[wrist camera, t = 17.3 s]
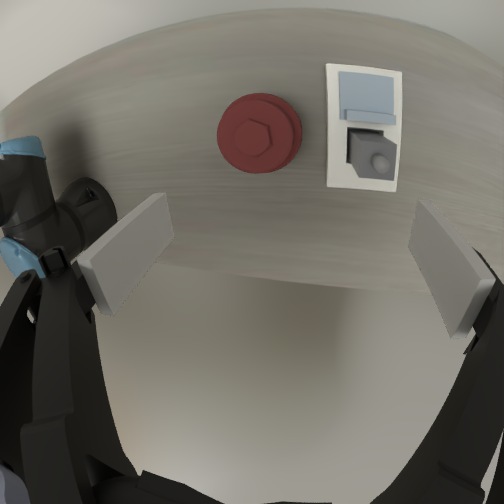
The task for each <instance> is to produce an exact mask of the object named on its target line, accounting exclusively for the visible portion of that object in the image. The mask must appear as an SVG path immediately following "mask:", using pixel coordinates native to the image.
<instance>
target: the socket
mask: <svg viewBox="0 0 504 504" xmlns="http://www.w3.org/2000/svg"><path fill="white" fill-rule="evenodd" d="M339 71H344V72H355V73H365V74H373V75H380V76H387V77H393V78H394V115H396V125H389V124H382V123H373V122H364V121H353V120H340V99H339ZM325 80H326V115H327V153H326V183H327V187H339V188H353V189H366V190H377V191H388V192H396V186H397V178H398V168H399V158H400V145H401V127H402V72H397V71H392V70H386V69H379V68H371V67H363V66H354V65H342V64H326V65H325ZM347 128H351V129H363V130H372V131H375V132H377V133H379V134H380V135H382V136H384V137H386V138H387V139H389V140H390V141H392V142H394V143H395V144H397V154H396V166H395V176H394V181H390V180H380V179H369V178H359V177H358V175H357V174H356V172H355V170H354V168H353V166H352V164H351V162H350V160H349V159H348V157H347V155H346V154H347Z"/></svg>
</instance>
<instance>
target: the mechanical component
mask: <svg viewBox="0 0 504 504" xmlns="http://www.w3.org/2000/svg"><path fill="white" fill-rule="evenodd" d="M301 140H302V126H301V122H300V119H299V117H298V115H297V113H296V112H295V110H294V109H293V108H292V107H291V106H290V105H289V104H288V103H287V102H286V101H284V100H283V99H281V98H279V97H277V96H274V95H270V94H264V93H254V94H249V95H246V96H243V97H241V98H239V99H237V100H236V101H234V102H233V103H232V104H231V105H230V106H229V107H228V108H227V109H226V111H225V112H224V114H223V116H222V118H221V120H220V123H219V126H218V130H217V142H218V146H219V149H220V151H221V153H222V155H223V156H224V158H225V159H226V160H227V161H228V162H229V163H230V164H231V165H232V166H234V167H235V168H237V169H239V170H241V171H244V172H248V173H268V172H273V171H276V170H278V169H281V168H282V167H284V166H286V165H287V164H288V163H289V162H290V161H291V160H292V159H293V158H294V157H295V155H296V154H297V152H298V150H299V147H300V144H301Z"/></svg>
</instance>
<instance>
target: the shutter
mask: <svg viewBox="0 0 504 504" xmlns="http://www.w3.org/2000/svg"><path fill="white" fill-rule="evenodd" d="M339 99H340V120H353V121H364V122H373V123H382V124H389V125H396V115H394V78H393V77H387V76H380V75H373V74H365V73H355V72H344V71H339Z"/></svg>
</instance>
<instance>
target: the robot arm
mask: <svg viewBox="0 0 504 504" xmlns="http://www.w3.org/2000/svg"><path fill="white" fill-rule="evenodd" d="M45 160H46V157H45V156H44V152H43V148H42V143H41V140H40V139H39V138H38V137H36V136H26V137H20V138H16V139H12V140H8V141H5V142H2V143H1V144H0V227H2V230H3V233H4V237H3V238H2V239H1V241H0V253H1V256H2V258H3V260H4V262H5V264H6V265H7V267H8V268H9V270H10V271H11V272H12V273H13V275H14V276H15V277H16V278H17V279H16V280H15V282H14V283H13V285H12V287H11V288H10V290H9V292H8V294H7V296H6V297H5V299H4V301H3V303H2V304H1V306H0V504H224V503H221V502H219V501H216V500H215V499H213V498H211V497H209V496H207V495H204V494H202V493H200V492H198V491H196V490H195V489H193V488H191V487H189V486H187V485H185V484H183V483H180V482H176V481H173V480H170V479H167V478H164V477H161V476H158V475H155V474H153V473H150V472H147V471H144V470H143V471H142V474H141V476H138V475H137V472H136V470H135V468H134V467H133V465H132V464H131V462H130V461H129V459H128V458H127V457H126V455H125V453H124V452H123V449H122V447H121V443H120V440H119V437H118V434H117V430H116V427H115V423H114V420H113V416H112V412H111V408H110V404H109V400H108V396H107V391H106V386H105V382H104V377H103V371H102V366H101V360H100V354H99V348H98V340H97V332H96V324H95V315H94V313H93V311H92V309H91V308H92V307H93V306H94V304H95V303H96V305H97V307H98V309H99V311H100V313H101V314H105V315H110V316H115V315H116V313H117V312H118V311H119V309H120V308H121V306H122V305H123V304H124V302H125V301H126V299H127V298H128V297H129V295H130V294H131V292H132V291H133V290H134V289H135V287H136V286H137V285H138V283H139V282H140V281H141V279H142V278H143V277H144V275H145V274H146V273H147V272H148V270H149V269H150V268H151V266H152V265H153V264H154V263H155V261H156V260H157V259H158V257H159V256H160V255H161V254H162V252H163V251H164V250H165V249H166V247H167V246H168V245H169V244H170V242H171V241H172V240H173V239H174V238H175V236H174V232H173V227H172V222H171V217H170V212H169V207H168V202H167V197H166V193H154V194H152V195H151V196H150V197H148V198H147V199H146V200H144V201H143V202H142V203H141V204H139V205H138V206H137V207H136V208H134V209H133V210H132V211H131V212H129V213H128V214H127V215H126V216H124V217H123V218H122V219H121V220H120V221H118V222H117V218H116V211H115V207H114V205H113V202H112V200H111V198H110V196H109V195H108V193H107V192H106V190H105V189H104V188H103V187H102V186H101V185H100V184H99V183H97V182H96V181H94V180H92V179H88V178H82V179H79V180H77V181H75V182H73V183H71V184H70V185H69V186H68V187H67V188H66V189H65V191H64V192H63V193H62V194H61V196H60V197H59V198H58V200H57V201H56V202H55V200H54V196H53V193H52V189H51V184H50V180H49V176H48V171H47V166H46V161H45ZM408 247H409V249H410V251H411V253H412V255H413V257H414V258H415V260H416V262H417V264H418V266H419V268H420V270H421V272H422V274H423V276H424V278H425V280H426V282H427V284H428V286H429V289H430V291H431V293H432V295H433V297H434V299H435V301H436V304H437V306H438V309H439V311H440V313H441V316H442V318H443V320H444V323H445V325H446V328H447V331H448V333H449V336H450V338H451V339H459V338H466V337H467V335H468V333H469V331H470V330H471V328H472V326H473V328H474V330H475V332H476V334H475V336H474V337H473V339H472V341H471V342H470V344H469V346H468V347H467V349H466V350H465V352H464V353H463V354H466V353H467V354H466V357H465V360H464V362H463V364H462V367H461V369H460V371H459V374H458V376H457V378H456V380H455V383H454V385H453V387H452V389H451V391H450V393H449V395H448V397H447V399H446V401H445V403H444V405H443V407H442V409H441V410H440V412H439V414H438V416H437V418H436V420H435V421H434V423H433V425H432V426H431V428H430V430H429V431H428V433H427V435H426V436H425V438H424V439H423V441H422V442H421V444H420V445H419V447H418V449H417V450H416V451H415V453H414V454H413V456H412V458H411V459H410V460H409V461H408V463H407V464H406V466H405V467H404V468H403V470H402V471H401V472H400V473H399V475H398V476H397V477H396V479H395V480H394V481H393V482H392V484H391V485H390V486H389V487H388V488H387V489H386V490H385V491H384V492H383V493H381V494H380V495H379V496H377V497H376V498H375V499H374V500H373V501H372V502H371V503H370V504H482V503H483V501H484V498H485V491H484V490H483V489H482V488H481V482H482V479H483V477H484V475H485V473H486V471H487V469H488V466H489V464H490V462H491V460H492V457H493V455H494V453H495V450H496V448H497V445H498V442H499V440H500V437H501V434H502V432H503V437H502V443H501V448H500V453H499V458H498V462H497V467H496V471H495V475H494V478H493V482H492V485H491V488H490V492H489V495H488V498H487V501H486V504H504V431H503V429H504V285H503V284H502V282H501V281H500V279H499V278H498V277H497V275H496V274H495V272H494V271H493V270H492V268H490V266H489V264H488V263H487V262H486V260H485V259H484V258H483V256H482V255H481V254H480V253H479V252H478V251H476V250H475V249H474V248H473V247H471V245H470V244H469V243H468V242H467V240H466V239H465V238H464V237H463V236H462V235H461V233H460V232H459V231H458V230H457V229H456V228H455V226H454V225H453V224H452V223H451V222H450V221H449V220H448V219H447V218H446V216H445V215H444V214H443V213H442V212H441V211H440V210H439V209H438V208H437V207H436V206H435V205H434V204H433V203H432V202H431V201H430V200H423V199H418V200H417V206H416V211H415V217H414V222H413V227H412V231H411V236H410V240H409V244H408ZM86 249H87V250H86ZM83 250H85V251H84V252H83V253H82V254H81V255H80V256H79V257H78V258H77V259H76V261H75V262H74V263H73V264H72V265H71V263H70V262H71V261H72V260H73V259H74V258H75V257H76V256H77V255H78V254H79V253H81V252H82V251H83ZM27 310H29V311H30V313H31V315H32V316H33V318H34V321H33V323H31V322H30V320H29V318H28V317H27ZM91 486H92V487H91ZM267 504H332V503H301V502H275V503H267Z"/></svg>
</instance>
